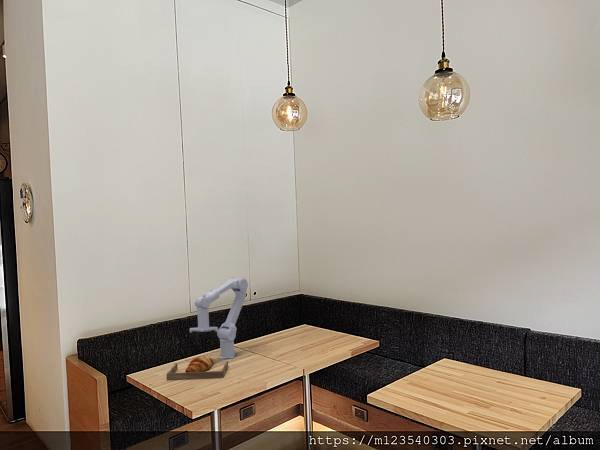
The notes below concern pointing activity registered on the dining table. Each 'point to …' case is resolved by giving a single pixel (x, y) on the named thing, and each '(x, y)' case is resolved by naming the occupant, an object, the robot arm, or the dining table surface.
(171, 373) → the frame
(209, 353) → the dining table surface
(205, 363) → the croissant
